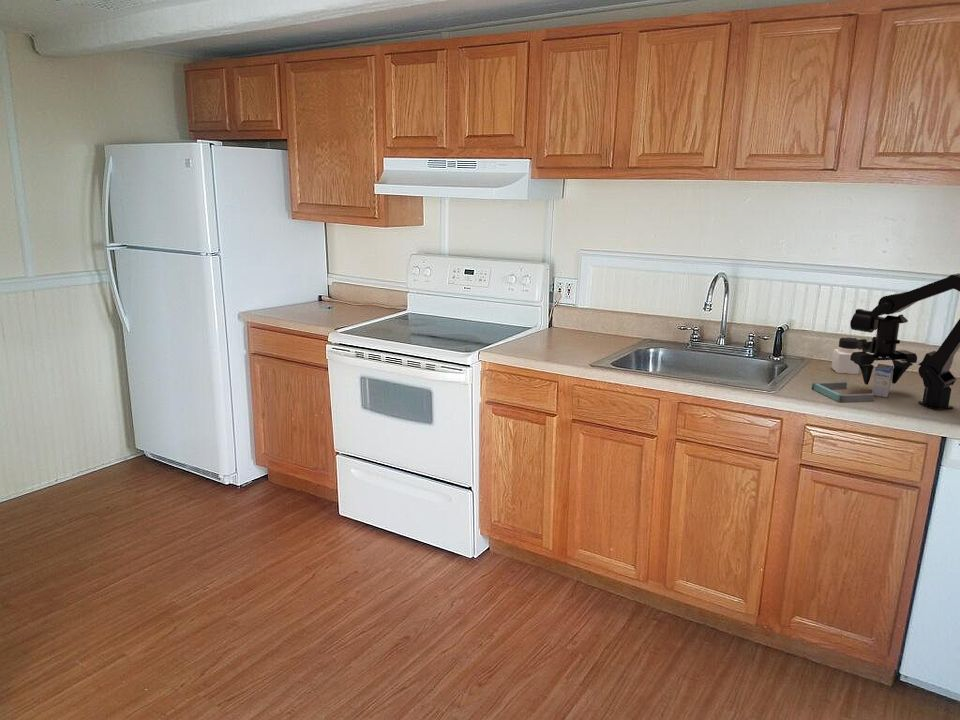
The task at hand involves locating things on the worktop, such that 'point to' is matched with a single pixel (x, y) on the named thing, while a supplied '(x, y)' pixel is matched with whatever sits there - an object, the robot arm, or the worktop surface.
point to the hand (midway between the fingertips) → (879, 383)
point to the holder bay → (825, 389)
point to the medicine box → (882, 380)
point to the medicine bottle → (845, 356)
